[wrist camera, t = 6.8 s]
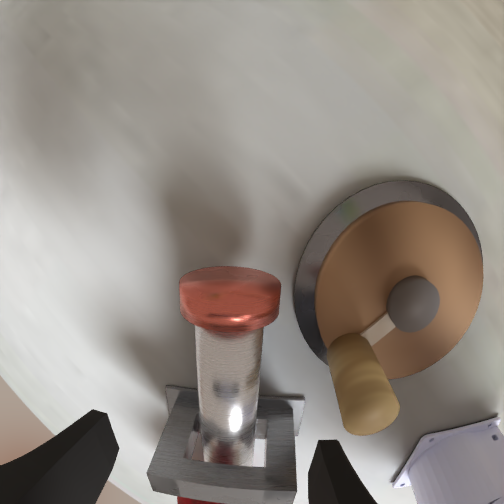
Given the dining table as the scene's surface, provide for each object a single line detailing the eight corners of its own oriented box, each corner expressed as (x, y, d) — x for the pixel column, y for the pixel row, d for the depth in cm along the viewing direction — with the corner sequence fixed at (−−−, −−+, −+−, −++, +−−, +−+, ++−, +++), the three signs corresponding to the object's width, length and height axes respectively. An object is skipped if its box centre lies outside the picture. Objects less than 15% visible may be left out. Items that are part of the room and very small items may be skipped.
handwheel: (416, 161, 14) (490, 160, 8) (492, 291, 15) (551, 333, 9) (268, 294, 16) (265, 364, 10) (372, 396, 17) (397, 468, 11)
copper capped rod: (280, 269, 15) (282, 306, 11) (262, 449, 18) (259, 497, 14) (193, 263, 15) (165, 296, 11) (201, 443, 18) (190, 489, 14)
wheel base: (493, 196, 14) (496, 197, 14) (451, 370, 17) (453, 372, 17) (304, 168, 15) (304, 168, 14) (284, 376, 18) (284, 379, 17)
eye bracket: (319, 312, 16) (343, 394, 10) (297, 433, 19) (301, 512, 12) (158, 300, 17) (101, 368, 10) (172, 421, 19) (144, 494, 13)
